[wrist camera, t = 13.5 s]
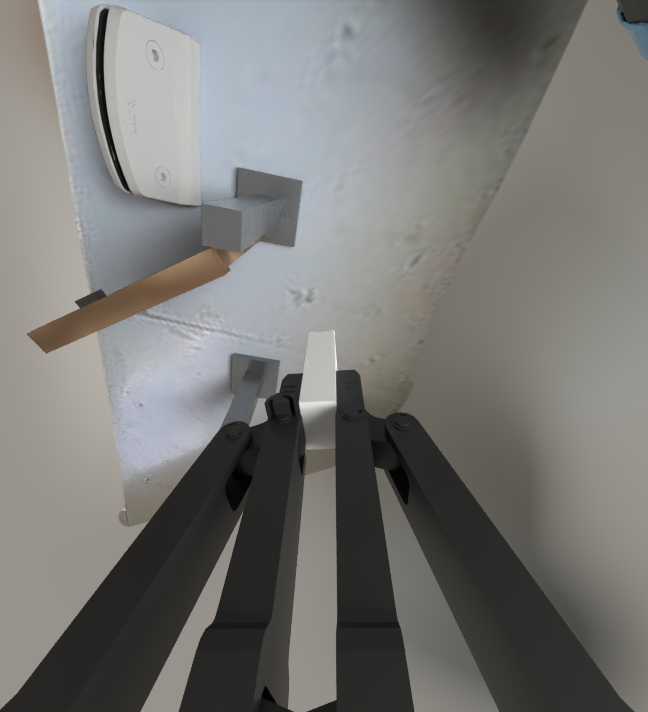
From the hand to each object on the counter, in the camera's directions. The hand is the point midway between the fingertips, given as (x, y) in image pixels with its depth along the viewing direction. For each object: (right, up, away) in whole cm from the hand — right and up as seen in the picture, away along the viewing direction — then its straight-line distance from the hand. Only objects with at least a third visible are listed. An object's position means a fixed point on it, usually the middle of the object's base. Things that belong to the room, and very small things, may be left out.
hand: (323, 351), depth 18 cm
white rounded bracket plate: (-19, +27, +18) cm, 38 cm away
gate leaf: (-19, +13, +24) cm, 33 cm away
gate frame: (-10, +8, +28) cm, 31 cm away
